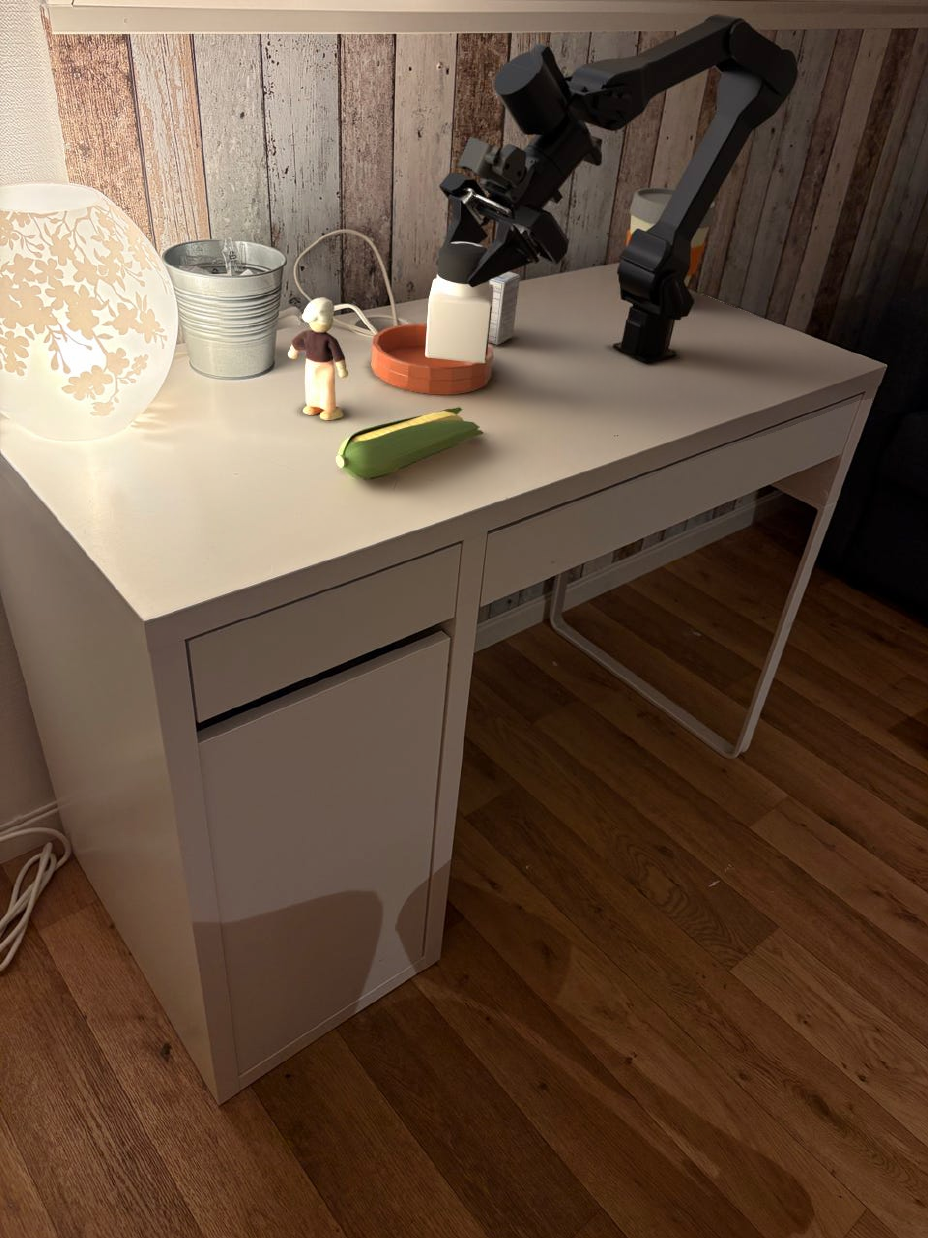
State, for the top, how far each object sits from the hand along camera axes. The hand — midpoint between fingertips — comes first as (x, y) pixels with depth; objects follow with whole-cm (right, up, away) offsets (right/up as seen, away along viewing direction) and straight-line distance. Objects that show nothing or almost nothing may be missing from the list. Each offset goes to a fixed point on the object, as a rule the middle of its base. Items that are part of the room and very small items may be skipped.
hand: (453, 275), depth 109 cm
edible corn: (-4, -22, -8) cm, 24 cm away
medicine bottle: (0, -7, +6) cm, 9 cm away
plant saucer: (-3, -8, +12) cm, 14 cm away
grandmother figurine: (-15, -16, -1) cm, 22 cm away
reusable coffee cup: (+31, +12, +45) cm, 56 cm away
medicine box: (+3, 0, +24) cm, 24 cm away
